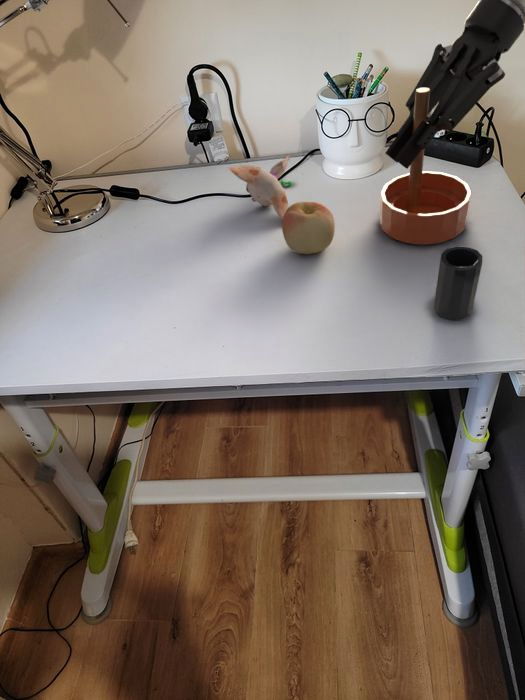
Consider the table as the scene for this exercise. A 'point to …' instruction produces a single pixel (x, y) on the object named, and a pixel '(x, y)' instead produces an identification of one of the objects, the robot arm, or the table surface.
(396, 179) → the bowl
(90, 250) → the table surface
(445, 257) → the utensil pot
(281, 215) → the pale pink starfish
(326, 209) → the apple
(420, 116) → the stick
